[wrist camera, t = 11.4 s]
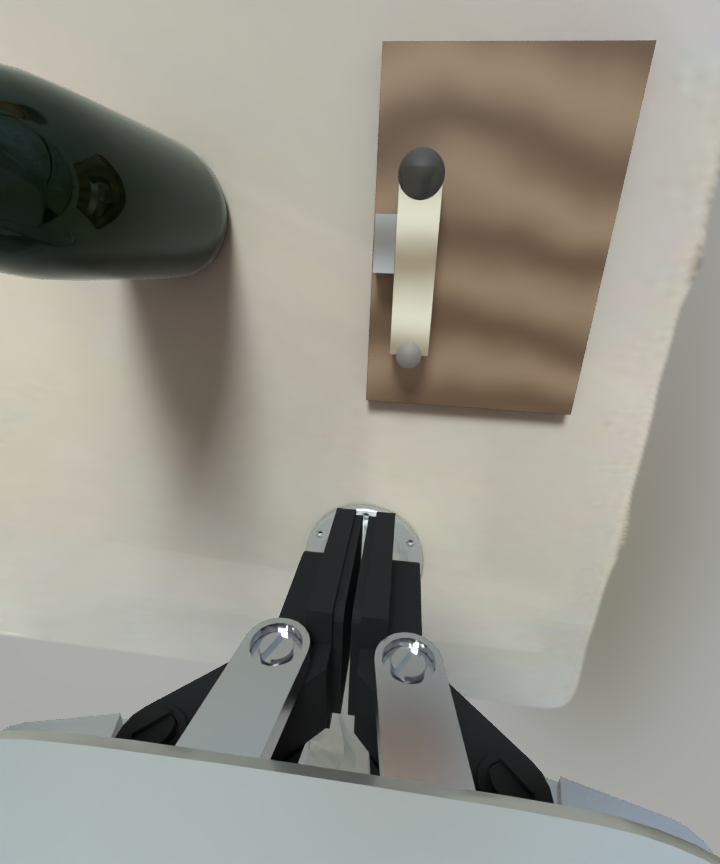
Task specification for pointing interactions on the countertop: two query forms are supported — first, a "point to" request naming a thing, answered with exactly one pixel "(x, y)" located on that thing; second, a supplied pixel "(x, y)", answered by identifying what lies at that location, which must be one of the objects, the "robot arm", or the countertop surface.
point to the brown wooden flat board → (504, 211)
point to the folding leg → (415, 253)
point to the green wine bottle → (98, 191)
